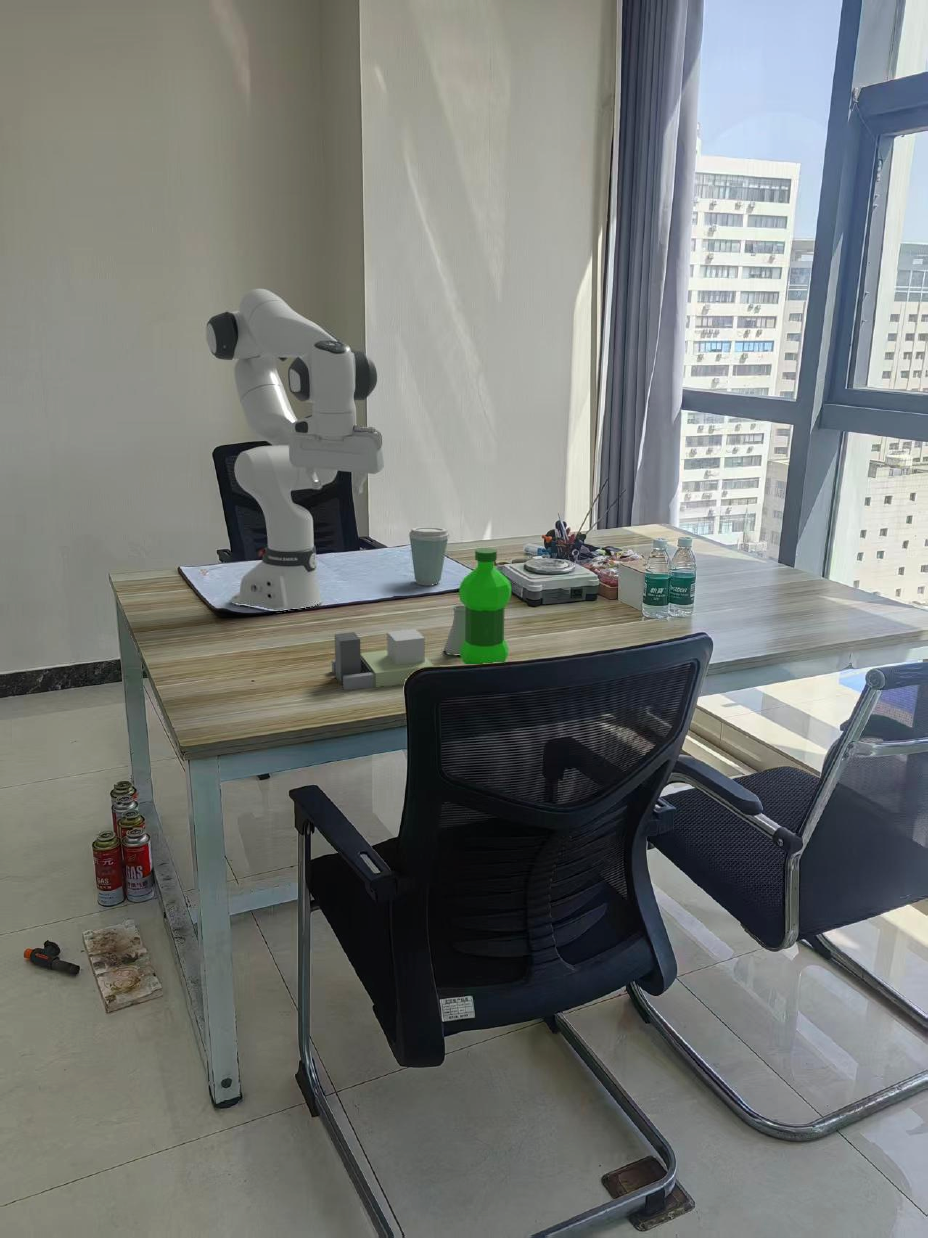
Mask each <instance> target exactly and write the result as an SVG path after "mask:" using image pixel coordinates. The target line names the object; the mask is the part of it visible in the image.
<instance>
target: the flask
mask: <svg viewBox="0 0 928 1238" xmlns="http://www.w3.org/2000/svg"><path fill="white" fill-rule="evenodd" d="M452 610H453V620H452V625H451V628H450V630H449V634H448V636H447V639H446V641H445V643H444V644H445V645H444V647H443V650H444V651H446V652H447V653H449V654H460V650H461V648H462V645H463V643H464V641H465V615H466V606H465V605H464V604H456V605H455V604H454V605H453V606H452ZM446 652H445V653H446ZM447 653H446V654H447Z"/></svg>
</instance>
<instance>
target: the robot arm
mask: <svg viewBox="0 0 928 1238" xmlns="http://www.w3.org/2000/svg"><path fill="white" fill-rule="evenodd" d="M205 337H206V339H205V340H206V341H207V345H208V347H209V350H210V352H211V354H212V355H213V356H215V358H216V359H218V360H225V361H231V360H233V359H236V360H237V361H236V363H235V364H234V367H233V369H234V370H233V373H234V381H235V386H236V387H235V388H236V392H237V396H238V399H239V402H240V404H241V408H242V410H243V414H244V417H245V419H246V422H247V426H248V428H249V430H250V431H251V433H252V434H253V435H254V436H255V437H257V438H258V439H261V440H263V441H265V442H267V443H268V444H270V445H263V446H256V447H253V448H250V449H248V450H247V449H246V450H244V451H241V452H240V453H239V454H238V456H237V458H236V460H235V462H234V467H233V468H234V470H233V471H234V476H235V477H234V478H235V479H236V482H237V484H238V486H240V488H242V490H243V491H245V492H247V493H248V494H249V495H251V497H253V498H254V499H255V501H256V502H257V503H258V505H259V506H260V508H261V510H262V512H263V513H262V514H263V516H264V521H265V526H266V533H267V535H266V537H267V546H266V547H264V548H262V549H261V550H259V551H258V553H259V554H258V557H260V556H262V559H261V561H260V562H259V563H257V564H256V565H255V566H253V568H252V569H250V570H249V571H248V572H246V574H244V575H243V577H242V578H241V581H240V586H239V591H238V592H236V593H235V594H234V595H233V596H232V597H231V599H230V602H231V601H232V602H234V603H238V604H247V605H250V606H259V607H264V608H267V609H273V610H278V611H280V610H284V609H293V608H301V607H305V609H307V608H306V607H310V606H313V607H316V606H318V605H321V604H322V602H323V601H322V600H323V597H322V594H321V591H320V588H319V583H318V577H317V572H316V569H317V551H316V550H317V549H316V548H317V547H316V545H315V544H314V543H315V542H314V520H313V519H314V518H313V516H312V514H311V513H310V511H309V510H308V509H306V508H305V507H303V506H301V505H300V504H296V503H294V501H293V499H292V495H291V492H292V491H298V490H308V489H312V490H321V489H322V488H323V486H325V485H327V484H330V483H332V482H333V481H334V480H335V479H336V476H337V474H338V472H339V471H340V472H348V473H356V477H357V479H358V481H357V482H356V483H355V484H353V485H352V492H353V494H358V495H361V494H362V493H363V491H364V488H363V487H364V483H365V481H366V480H367V478H368V475H369V474H370V475H376V474H378V473H380V472H381V471H382V470H383V468H384V466H385V465H384V464H385V461H384V456H383V455H384V453H383V448H382V446H383V435H382V433H381V432H380V431H379V430H378V429H376V427H372V426H368V427H367V426H361V425H360V426H359V425H357V407H356V406H357V405H356V404H355V401H365V400H366V399H367V398H368V397H370V395H371V394H372V393H373V391H374V390H375V389H376V385H377V383H378V372H377V369H376V368H377V367H376V366H375V363H374V361H373V360H372V359H371V358H370V357H369V356H368V355H367V354H366V353H365V352H364V351H362V350H356V349H353V348H352V347H351V346H349V345H348V344H347V343H345V342H344V341H343V340H342V339H340V338H339V337H338V336H336V335H335V334H334V333H333V332H331V331H330V330H328V329H326V328H325V327H323V326H321V325H320V324H318V323H315V322H313V321H311V320H309V319H307V318H306V317H304V316H302V315H301V314H300V313H298V312H296V311H295V310H293V309H292V307H290V306H289V305H288V303H286V302H285V301H284V300H283V299H282V298H281V297H280V296H279V295H277V294H275V293H274V292H272V291H270V290H269V289H265V288H254V289H251V290H250V291H248V292H247V293H245V294H244V296H243V297H242V299H241V300H240V303H239V310H236V311H230V312H229V311H227V310H226V311H225V312H221V313H218V314H215V315H214V316H212V317H210V319H209V320H208V322H207V323H206V330H205ZM288 358H294V360H293V361H292V362H291V364H290V365H289V367H288V369H287V370H288V372H287V373H288V375H287V377H288V388H289V392H290V393H291V394H292V395H293V396H294V397H295V399H297V400H299V401H300V402H305V403H312V412H311V413H312V415H307V416H305V417H303V418H299V419H298V418H297V417H296V415H295V413H294V411H293V409H292V406H291V404H290V403H291V402H290V401H289V398H288V396H287V393H286V391H285V387H284V385H283V383H282V380H281V378H280V375H279V373H278V370H277V359H279V361H281V362H285V361H286V360H287V359H288ZM317 604H318V605H317ZM315 605H316V606H315ZM310 608H311V607H310Z"/></svg>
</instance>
